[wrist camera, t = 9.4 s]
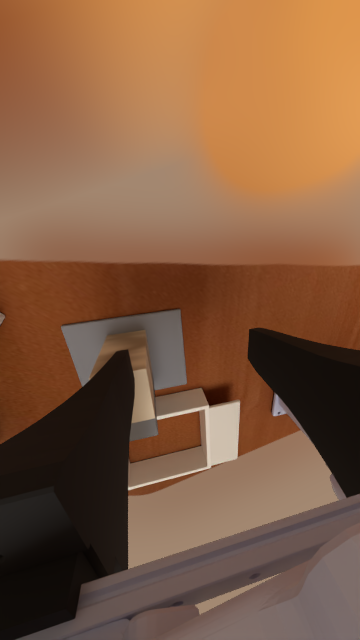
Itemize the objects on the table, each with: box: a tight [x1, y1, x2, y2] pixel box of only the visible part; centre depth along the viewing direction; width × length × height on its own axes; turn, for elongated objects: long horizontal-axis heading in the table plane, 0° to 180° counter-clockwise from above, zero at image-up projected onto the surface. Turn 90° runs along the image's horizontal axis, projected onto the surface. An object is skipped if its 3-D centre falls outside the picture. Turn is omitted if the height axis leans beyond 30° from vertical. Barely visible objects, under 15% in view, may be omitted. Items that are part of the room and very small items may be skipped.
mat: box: [61, 309, 187, 390], centre depth 21 cm, size 12×10×1 cm
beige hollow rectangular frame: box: [128, 388, 240, 490], centre depth 25 cm, size 20×12×3 cm, turn 94°
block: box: [89, 330, 158, 441], centre depth 18 cm, size 4×7×7 cm, turn 4°
